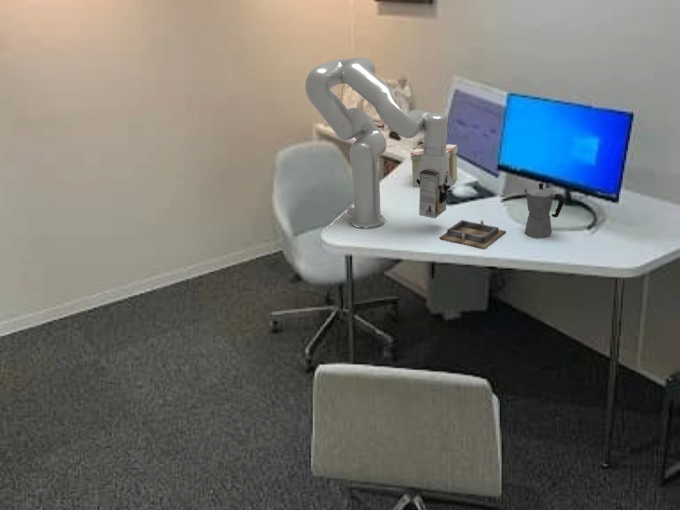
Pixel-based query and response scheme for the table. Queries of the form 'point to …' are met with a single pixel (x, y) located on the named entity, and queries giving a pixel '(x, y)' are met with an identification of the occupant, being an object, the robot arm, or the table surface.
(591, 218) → the table surface
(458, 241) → the tray
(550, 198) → the coffeepot
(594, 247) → the table surface
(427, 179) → the coffee box
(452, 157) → the gift box
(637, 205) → the table surface
